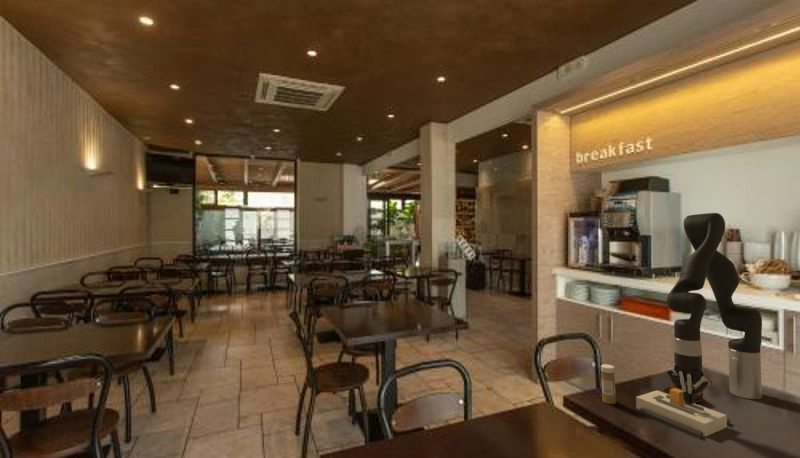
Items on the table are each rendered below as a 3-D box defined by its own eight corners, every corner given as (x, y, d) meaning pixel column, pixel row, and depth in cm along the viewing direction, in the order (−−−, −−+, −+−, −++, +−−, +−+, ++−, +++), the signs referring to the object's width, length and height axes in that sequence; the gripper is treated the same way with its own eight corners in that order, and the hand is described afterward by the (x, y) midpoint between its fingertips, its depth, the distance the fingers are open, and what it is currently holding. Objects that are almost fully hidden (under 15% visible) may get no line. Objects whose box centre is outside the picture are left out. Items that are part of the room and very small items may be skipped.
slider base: (657, 400, 146) (657, 387, 146) (726, 427, 126) (726, 411, 126) (636, 407, 141) (636, 394, 141) (705, 436, 121) (704, 420, 121)
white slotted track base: (669, 400, 145) (669, 397, 145) (733, 424, 127) (733, 420, 127) (636, 412, 138) (636, 408, 138) (699, 438, 119) (699, 435, 119)
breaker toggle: (675, 401, 136) (675, 387, 136) (684, 404, 133) (684, 391, 133) (670, 403, 134) (669, 389, 134) (679, 406, 132) (678, 392, 132)
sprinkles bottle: (618, 402, 146) (617, 366, 146) (611, 405, 143) (610, 368, 143) (606, 398, 149) (604, 362, 149) (599, 401, 147) (598, 365, 147)
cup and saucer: (701, 395, 149) (700, 379, 149) (705, 408, 139) (704, 391, 139) (663, 389, 156) (663, 374, 156) (664, 401, 146) (664, 384, 146)
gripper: (717, 355, 126) (718, 409, 126) (673, 344, 138) (675, 393, 138) (703, 359, 123) (705, 414, 122) (660, 348, 135) (662, 398, 134)
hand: (689, 403), depth 130 cm, fingers closed
